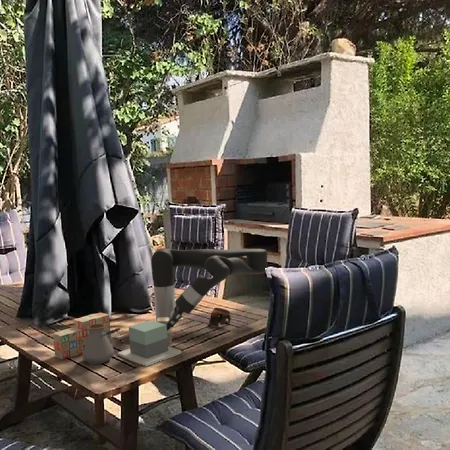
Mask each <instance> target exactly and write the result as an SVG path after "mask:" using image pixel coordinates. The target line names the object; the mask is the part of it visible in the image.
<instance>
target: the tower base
mask: <svg viewBox="0 0 450 450" xmlns="http://www.w3.org/2000/svg"><path fill="white" fill-rule="evenodd" d="M128 338H129V340H128V341H129V348H127V349H124V350H122V351H119V352H117V356H119V357H121V358H123V359H126V360H129V361H131V362H134V363H136V364H139V365H141V364H142V365H141V366H144V365H145V366H144V367H146V366H147V367H149V366H148V365H150V366H152V365H155V364H157V362H158V363H160V362H163V361H165V360H168V359H170V358H173V357H175V356H177V355H178V356H179V355H180V354H182V350H180V349H178V348H174V347H172V346H169V343H168V340H167V325H166V324H162V323H159V322H156V320H155V321H154V320H151V319H149V320H145V321H143V322H140V323H136V324H132V325H129V326H128ZM162 360H163V361H162ZM159 361H160V362H159ZM154 363H155V364H154ZM151 364H152V365H151Z"/></svg>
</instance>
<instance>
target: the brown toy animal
mask: <svg viewBox="0 0 450 450" xmlns="http://www.w3.org/2000/svg"><path fill="white" fill-rule="evenodd" d="M213 309H214V310H212V311H211V312H210V318H209V320H208V326H212V327H215V328H216V327H217V328H218V327H219V325H221V326H223V325H225V324H226V321H227V320H228V323H230V322H231V311H229V310H228V309H225V308H222V307H214V308H213Z"/></svg>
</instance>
